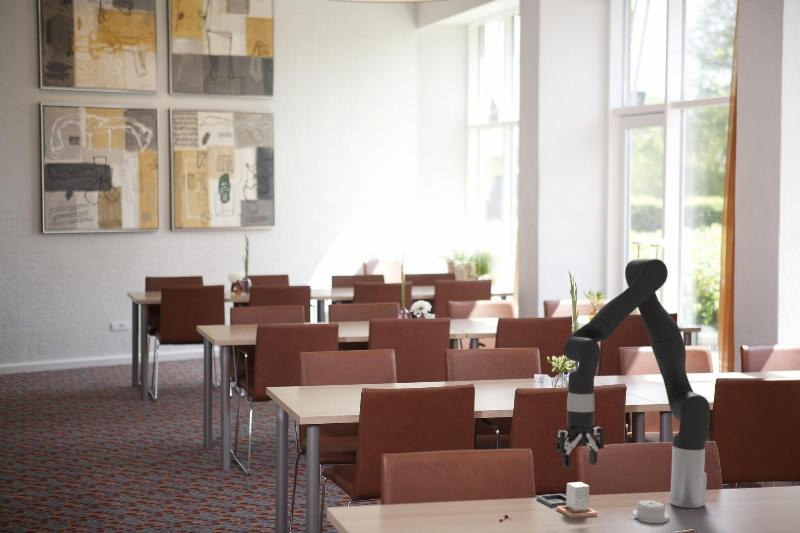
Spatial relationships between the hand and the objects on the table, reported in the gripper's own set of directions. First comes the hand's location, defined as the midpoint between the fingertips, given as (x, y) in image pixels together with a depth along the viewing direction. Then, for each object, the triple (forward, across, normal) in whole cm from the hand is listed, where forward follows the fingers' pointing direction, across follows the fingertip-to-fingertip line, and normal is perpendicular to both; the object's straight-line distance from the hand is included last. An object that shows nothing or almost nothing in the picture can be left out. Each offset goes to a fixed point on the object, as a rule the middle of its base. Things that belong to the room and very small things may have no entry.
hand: (579, 465), depth 285 cm
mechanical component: (+15, -19, +8) cm, 25 cm away
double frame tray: (+14, 0, -5) cm, 15 cm away
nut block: (+13, 0, 0) cm, 13 cm away
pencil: (+15, +16, -9) cm, 24 cm away
